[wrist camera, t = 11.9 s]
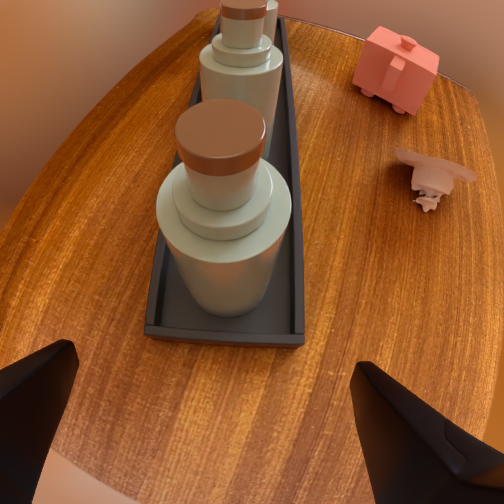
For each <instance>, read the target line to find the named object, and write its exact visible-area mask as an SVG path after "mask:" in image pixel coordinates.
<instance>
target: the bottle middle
mask: <svg viewBox="0 0 504 504" xmlns="http://www.w3.org/2000/svg"><path fill="white" fill-rule="evenodd" d="M265 1H266V2H267V12H266V15H265V16H264V25H263V34H264V35H266V36H267V37H269V38H270V39H271V41H272V45H274V39H275V31H276V22H277V14H278V3H277V2H276V1H275V0H265ZM220 33H222V15H221V14H220Z"/></svg>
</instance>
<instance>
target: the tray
mask: <svg viewBox="0 0 504 504" xmlns="http://www.w3.org/2000/svg"><path fill="white" fill-rule="evenodd" d="M218 34H220V14H219V16H218V19H217V21H216V24H215V27H214V29H213V32H212V35H211V38H210V40H209V43H208V45H209V44H211V43H212V39H213V38H214V37H215V36H216V35H218ZM274 46H275V47H277V48H278V49H279V50H280V51H281V53H282V55H283V66H282V73H281V79H280V86H279V93H278V100H277V107H276V114H275V121H274V127H273V134H272V141H271V148H270V153H269V156H268V158H267V159H266V161H267V162H268V163H269V164H271V165H272V166H273V167H274V168H275V169H276V170H277V171H278V172H279V173H280V174H281V176H282V177H283V179H284V180H285V182H286V184H287V186H288V189H289V192H290V196H291V203H292V204H291V215H290V219H289V222H288V226H287V229H286V232H285V235H284V238H283V241H282V245H281V248H280V251H279V254H278V257H277V260H276V263H275V266H274V269H273V272H272V275H271V279H270V282H269V285H268V288H267V291H266V293H265V295H264V297H263V299H262V300H261V302H260V303H259V304H258V305H257V306H256V307H255V308H254V309H253V310H251V311H250V312H248V313H246V314H244V315H241V316H238V317H232V318H223V317H217V316H214V315H211V314H209V313H207V312H205V311H204V310H202V309H201V308H200V307H199V306H198V305H197V304H196V303H195V302H194V300H193V299H192V297H191V295H190V293H189V291H188V289H187V287H186V285H185V282H184V280H183V278H182V276H181V274H180V272H179V270H178V267H177V265H176V263H175V261H174V259H173V256H172V254H171V252H170V250H169V247H168V245H167V243H166V241H165V238H164V236H163V234H162V231H161V229H160V228H159V233H158V238H157V244H156V250H155V255H154V261H153V268H152V274H151V280H150V287H149V294H148V301H147V309H146V317H145V326H144V335H146V336H148V337H149V338H151V339H153V340H161V341H171V342H181V343H192V344H204V345H218V346H235V347H256V348H294V349H297V348H299V347H300V346H302V345H304V262H303V232H302V210H301V190H300V174H299V158H298V145H297V132H296V120H295V108H294V98H293V87H292V78H291V68H290V59H289V51H288V42H287V34H286V27H285V19H284V18H282V17H277V22H276V31H275V39H274ZM201 102H202V94H201V81H200V70H199V73H198V76H197V79H196V83H195V86H194V89H193V92H192V96H191V99H190V103H189V106H188V109H189V108H190V107H192V106H194V105H196V104H198V103H201ZM188 109H187V110H188ZM182 162H183V161H182V160H181V158H180V156H179V154H178V150H177V151H176V155H175V159H174V163H173V167H172V170H173V169H174V168H175V167H176V166H177V165H179V164H180V163H182Z"/></svg>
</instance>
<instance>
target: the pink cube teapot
mask: <svg viewBox="0 0 504 504" xmlns="http://www.w3.org/2000/svg"><path fill="white" fill-rule="evenodd" d="M438 63H439V56H438V55H436V54H435V53H433V52H431V51H429V50H427V49H425V48H424V47H422V46H420V45H418V44H417V42H416V41H414V40H413V39H412V38H410V37H407V36H401V35H398V34H396V33H394V32H392V31H390V30H388V29H386V28H383V27H381V26H379V27H378V28H377V29H376V30H375V31H374V32H373V33H372V34H371V35H370V36H369V37H368V38H367V39H366V40H365V43H364V46H363V50H362V53H361V56H360V59H359V62H358V65H357V68H356V71H355V74H354V77H353V80H352V83H353V84H355V85H357V86H359V87H361V88H362V89H361V92H362V93H363V94H364V95H366V96H368V97H373V96H374V95H377V96H379V97H381V98H383V99H385V100H387V101H388V102H390V103H392V108H393V109H394V110H395V111H396V112H398V113H400V114H404V113H405V111H406V112H408V113H410V114H412V115H413V116H415V115H416V113H417V111H418V109H419V107H420V106H421V104H422V102H423V100H424V98H425V96H426V94H427V93H428V91H429V89H430V87H431V85H432V83H433V81H434V79H435V77H436V74H437V68H438Z"/></svg>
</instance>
